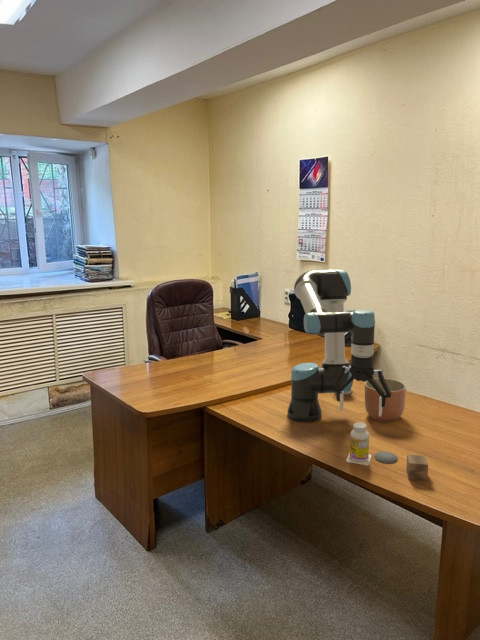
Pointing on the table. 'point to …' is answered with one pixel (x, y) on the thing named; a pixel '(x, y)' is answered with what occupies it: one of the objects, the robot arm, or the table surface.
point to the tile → (359, 461)
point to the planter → (393, 404)
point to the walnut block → (417, 467)
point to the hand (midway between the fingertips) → (360, 412)
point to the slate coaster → (385, 457)
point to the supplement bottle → (359, 442)
